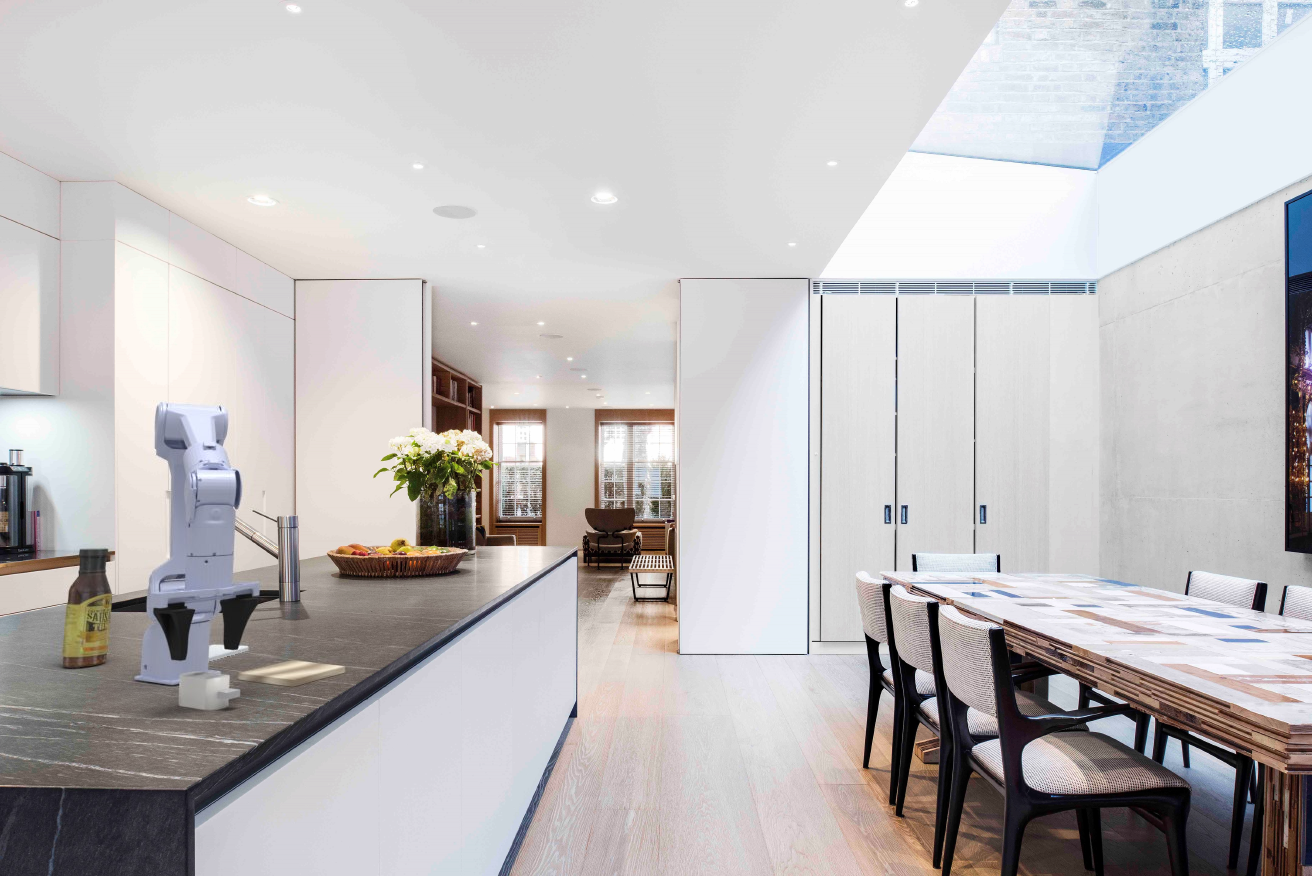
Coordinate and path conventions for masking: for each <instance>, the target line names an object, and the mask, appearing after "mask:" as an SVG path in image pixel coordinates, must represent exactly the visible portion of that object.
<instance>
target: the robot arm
mask: <svg viewBox="0 0 1312 876" xmlns="http://www.w3.org/2000/svg"><path fill="white" fill-rule="evenodd" d="M155 408H156V409H155V416H154V449H155V454H156V455H155V456H157V457H159V458H161V459H163V460H165V461H167V463H168V468H169V474H170V476H171V477H170V536H169V538H170V539H169V543H170V544H169V559H168V560H166V562H165V561H164V562H163V563H162V564H160V565H159V566H158V567H156V568H155V569H153V570H152V571H151V573H150V575H149V578H148V587H147V592H146V593H147V595H146V615H147V618H148V619H149V620H150V621H151V622H154V623H152V624H151V625H149V626H148V627H147V629H146V630H145V632H144V634H143V636H142V644H141V660H140V675H135V676H134V680H136V681H142V682H149V683H156V684H163V685H168V686H169V685H171V686H174V685H179V682H180V674H183V673H187V672H195V671H203V672H210V673H218V674H222V671H220V670H215V669H214V670H213V669H209V663H210V662H209V646H210V640H211V639H210V637H211V621H214V617H215V616H218V615H219V613H221V614H222V619H223V640H222V641H223V645H224V649H227V650H238V648H239V646H240V644H241V640H242V637H243V634H244V631H245V629H246V626H247V624H248V622H249V620H250V617H251V616H252V614H253V613H254V611H255V609H256V608H257V607H258V605H259V597H255V596H260V591H261V590H260V588H261V582H260V581H247V582H246V581H245V582H244V581H243V582H235V583H234V582H233V580H234V559H235V558H234V557H235V555H234V554H235V553H234V552H235V536H236V535H235V532H236V531H235V530H236V516H237V515H236V512H237V510H239V507H240V505H241V503H242V502H241V501H242V497H243V481H242V474H241V471H240V469H239V468H234V467H231V463H230V460H229V457H228V453H227V451H226V449H225V448H224V443H225V440H226V438H227V436H228V429H229V413H228V410H227V408H226V407H225V406H223V405H219V406H215V405H204V404H202V405H201V404H200V405H199V404H188V403H187V404H185V403H173V402H172V403H171V402H167V401H161V402H159V404H157V406H156V407H155Z"/></svg>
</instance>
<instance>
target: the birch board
mask: <svg viewBox="0 0 1312 876" xmlns="http://www.w3.org/2000/svg"><path fill="white" fill-rule="evenodd" d="M344 673H346V666H344V665H337V664H330V663H329V664H328V663H319V662H310V661H302V660H294V659H293V660H292V659H291V660H287V661H283V662H279V663H276V664H275V663H274V664H270V665H267V666H262V667H258V668H253V669H249V670H245V671H240V672H238V673H237V680H241V681H248V682H254V683H263V684H270V685H277V686H285V687H291V688H292V687H293V688H294V687H297V686H300V685H304V684H308V683H311V682H315V681H319V680H324V679H326V678H330V677H333V676H337V675H342V674H344Z"/></svg>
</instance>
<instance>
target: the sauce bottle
mask: <svg viewBox="0 0 1312 876" xmlns="http://www.w3.org/2000/svg"><path fill="white" fill-rule="evenodd" d="M108 556H109V548H106V547H98V548H97V547H92V548H91V547H89V548H79V551H78V557H79V570H78V575H77V577H76V579H75V580H74V581H73V582H72V584H71V585H70V587H69V589H68V596H67V603H66V610H65V621H64V630H63V641H62V652H61V656H62V666H63V667H64V668H84V667H91V666H98V665H101V664H104V663H105V662H106V660H107V655H108V653H109V652H108V651H109V639H110V628H111V615H112V605H113V604H112V603H113V592H112V589H111V586H110V583H109V580H108V577H107V569H106V567H107V559H108Z"/></svg>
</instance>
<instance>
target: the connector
mask: <svg viewBox="0 0 1312 876" xmlns="http://www.w3.org/2000/svg"><path fill="white" fill-rule="evenodd" d="M230 680H231V679H230V675H229V674H225V673H221V674H218V673H210V672H203V671H195V672H187V673H183V674H180V682H179V684H178V685H179V686H178V706H179V707H184V708H190V709H195V710H197V709H198V710H203V711H217V710H223V709H226V708H228V707H229V700H233V699H236V698H240V697H241V689H240V688H239V689H237V688H232V687H231V688H230Z"/></svg>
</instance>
